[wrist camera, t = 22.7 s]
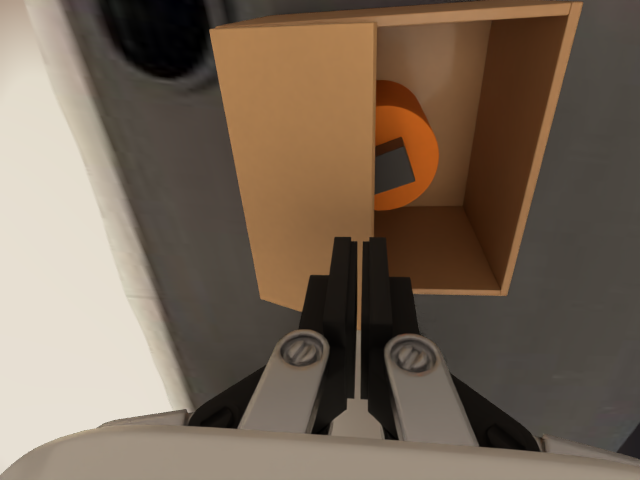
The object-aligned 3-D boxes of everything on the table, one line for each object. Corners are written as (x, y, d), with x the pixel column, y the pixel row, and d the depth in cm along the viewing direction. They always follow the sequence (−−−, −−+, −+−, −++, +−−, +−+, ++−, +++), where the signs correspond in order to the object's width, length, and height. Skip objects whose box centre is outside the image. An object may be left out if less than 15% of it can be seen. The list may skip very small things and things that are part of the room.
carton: (466, 208, 30) (507, 296, 21) (292, 209, 31) (263, 291, 23) (499, -1, 22) (583, 1, 14) (270, 15, 24) (214, 26, 15)
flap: (372, 329, 19) (370, 334, 19) (263, 295, 22) (260, 298, 22) (377, 21, 12) (373, 22, 12) (214, 28, 15) (208, 29, 15)
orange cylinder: (433, 149, 27) (456, 204, 20) (354, 177, 29) (349, 237, 22) (408, 64, 24) (425, 92, 17) (322, 101, 26) (305, 141, 19)
